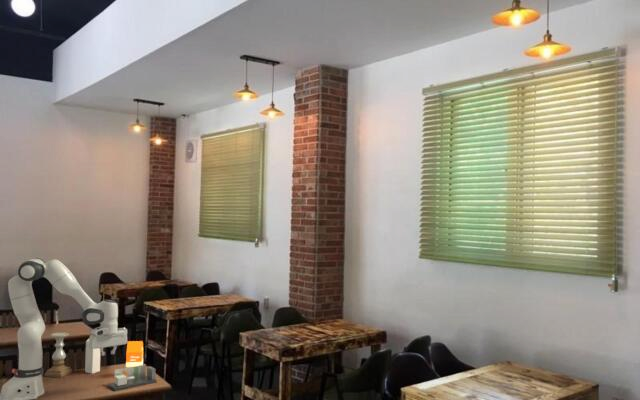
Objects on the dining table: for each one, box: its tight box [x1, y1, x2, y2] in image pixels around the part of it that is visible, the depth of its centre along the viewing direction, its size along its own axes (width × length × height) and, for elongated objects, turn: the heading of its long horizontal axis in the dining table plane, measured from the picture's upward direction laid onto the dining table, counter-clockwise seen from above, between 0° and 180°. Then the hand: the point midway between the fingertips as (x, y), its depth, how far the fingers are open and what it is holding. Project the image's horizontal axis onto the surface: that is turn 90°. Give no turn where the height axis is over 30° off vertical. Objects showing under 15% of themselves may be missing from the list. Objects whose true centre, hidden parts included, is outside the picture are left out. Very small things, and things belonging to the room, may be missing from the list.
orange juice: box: [125, 340, 144, 368], centre depth 324 cm, size 8×9×20 cm
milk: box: [84, 334, 102, 374], centre depth 328 cm, size 6×6×22 cm
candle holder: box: [44, 331, 73, 378], centre depth 321 cm, size 11×11×24 cm
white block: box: [113, 375, 134, 386], centre depth 303 cm, size 10×7×4 cm, turn 132°
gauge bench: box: [107, 363, 158, 392], centre depth 306 cm, size 24×11×8 cm, turn 132°
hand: (108, 354), depth 296 cm, fingers open, 4 cm apart
